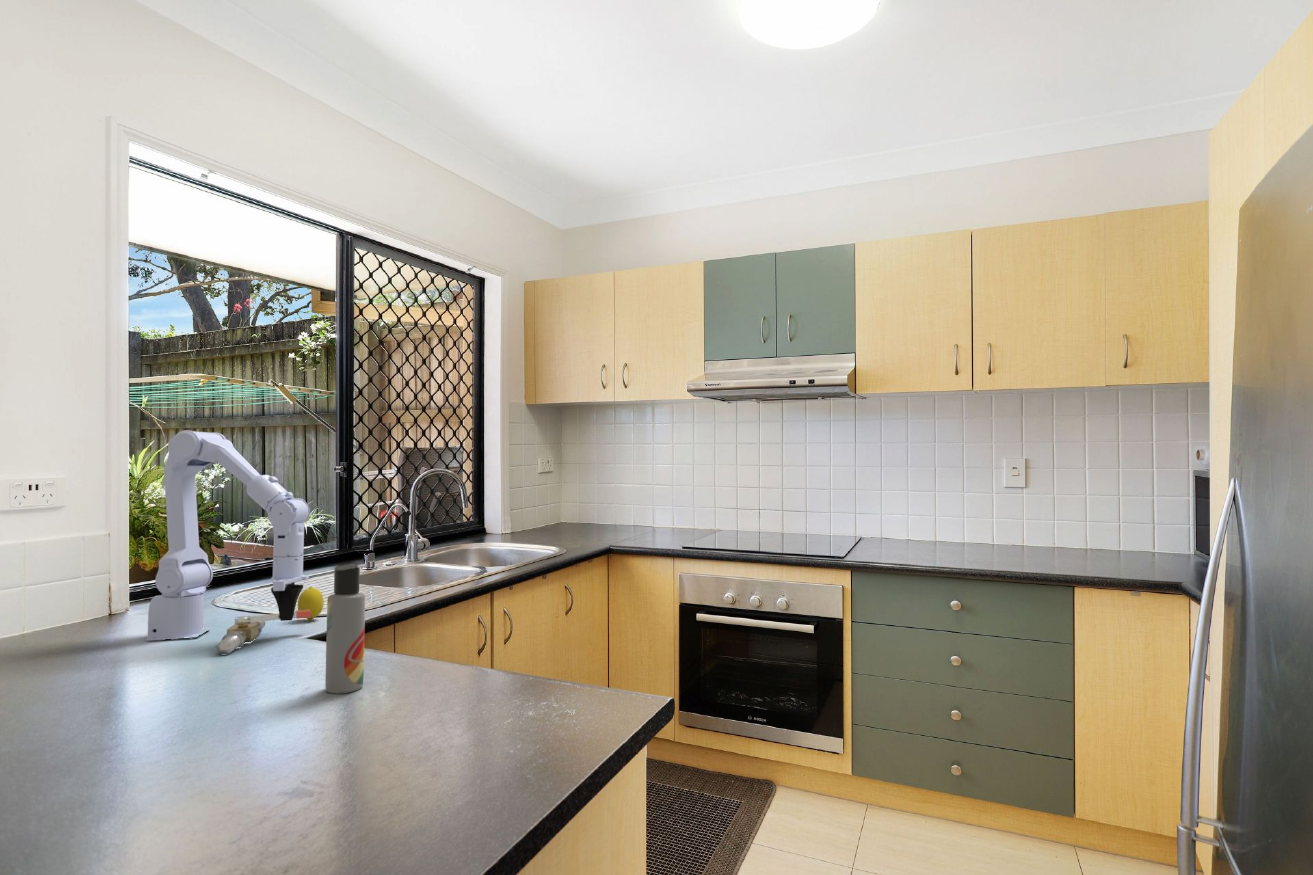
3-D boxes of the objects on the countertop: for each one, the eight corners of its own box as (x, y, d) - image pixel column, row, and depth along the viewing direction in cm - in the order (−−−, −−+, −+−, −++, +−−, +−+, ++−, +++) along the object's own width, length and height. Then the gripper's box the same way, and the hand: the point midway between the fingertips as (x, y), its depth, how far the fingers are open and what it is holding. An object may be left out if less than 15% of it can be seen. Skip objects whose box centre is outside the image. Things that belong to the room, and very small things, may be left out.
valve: (236, 657, 135) (237, 635, 135) (211, 659, 134) (211, 636, 134) (268, 632, 156) (269, 612, 156) (247, 633, 155) (247, 613, 155)
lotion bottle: (371, 686, 115) (373, 563, 116) (342, 696, 110) (345, 568, 111) (346, 681, 118) (348, 562, 119) (317, 691, 113) (320, 566, 114)
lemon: (312, 623, 162) (313, 588, 163) (291, 622, 164) (292, 588, 164) (328, 618, 168) (329, 585, 168) (308, 617, 169) (308, 584, 169)
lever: (235, 625, 143) (235, 619, 143) (233, 623, 146) (234, 616, 146) (311, 617, 151) (311, 611, 152) (308, 614, 154) (309, 609, 154)
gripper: (300, 559, 143) (298, 626, 143) (316, 551, 157) (314, 612, 157) (262, 560, 142) (260, 628, 141) (281, 552, 156) (280, 614, 155)
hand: (286, 620), depth 149 cm, fingers closed, pressing on lever
